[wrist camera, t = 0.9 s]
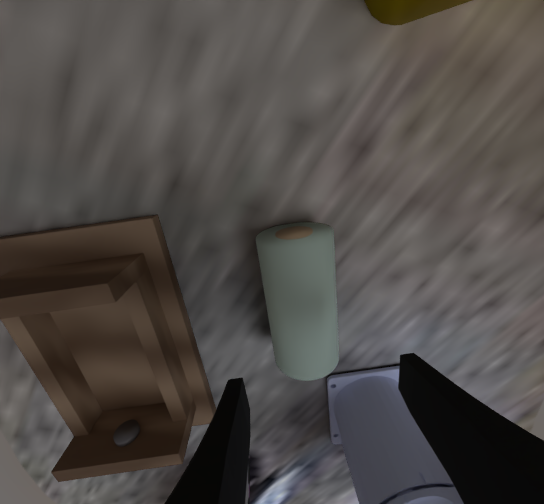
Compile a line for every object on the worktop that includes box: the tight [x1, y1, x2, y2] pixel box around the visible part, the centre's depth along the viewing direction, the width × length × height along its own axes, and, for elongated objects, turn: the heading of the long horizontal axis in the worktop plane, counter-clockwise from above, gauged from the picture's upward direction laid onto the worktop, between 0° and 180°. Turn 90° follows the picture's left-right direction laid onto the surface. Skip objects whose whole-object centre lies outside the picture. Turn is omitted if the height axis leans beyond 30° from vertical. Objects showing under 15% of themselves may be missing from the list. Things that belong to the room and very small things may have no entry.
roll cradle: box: [0, 215, 216, 482], centre depth 19 cm, size 20×12×6 cm, turn 8°
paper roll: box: [256, 222, 339, 381], centre depth 18 cm, size 10×5×5 cm, turn 8°
